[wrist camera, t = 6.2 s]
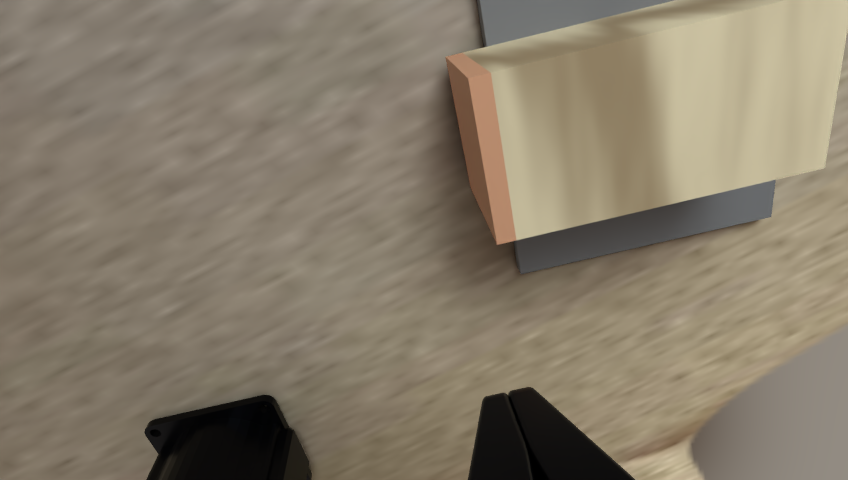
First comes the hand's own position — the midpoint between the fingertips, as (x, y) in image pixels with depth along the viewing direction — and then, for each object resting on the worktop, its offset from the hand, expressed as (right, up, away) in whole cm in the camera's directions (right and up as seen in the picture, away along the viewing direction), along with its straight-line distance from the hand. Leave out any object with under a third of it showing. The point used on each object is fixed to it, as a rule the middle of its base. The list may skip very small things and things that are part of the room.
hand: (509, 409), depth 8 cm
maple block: (0, +6, +8) cm, 10 cm away
